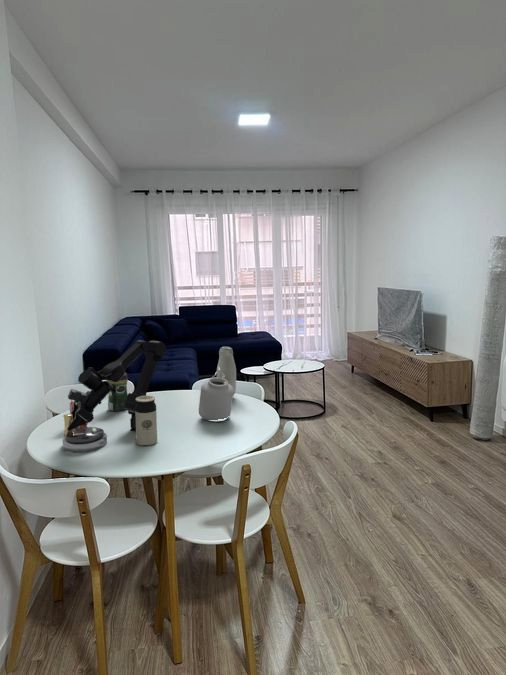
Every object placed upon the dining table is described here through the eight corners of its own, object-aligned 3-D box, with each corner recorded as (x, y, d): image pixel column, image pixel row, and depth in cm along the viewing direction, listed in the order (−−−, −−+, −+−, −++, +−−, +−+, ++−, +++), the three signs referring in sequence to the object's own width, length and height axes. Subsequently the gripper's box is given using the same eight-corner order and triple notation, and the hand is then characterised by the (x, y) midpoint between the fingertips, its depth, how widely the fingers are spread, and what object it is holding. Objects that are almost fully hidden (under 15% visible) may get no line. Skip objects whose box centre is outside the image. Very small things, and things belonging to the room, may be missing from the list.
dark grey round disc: (113, 437, 177) (113, 430, 177) (96, 453, 161) (95, 445, 161) (75, 436, 179) (75, 429, 178) (54, 451, 163) (54, 444, 162)
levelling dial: (109, 431, 176) (108, 408, 175) (94, 444, 162) (93, 419, 161) (76, 430, 177) (75, 407, 176) (58, 443, 163) (56, 418, 162)
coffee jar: (124, 405, 221) (123, 369, 219) (131, 409, 215) (130, 372, 213) (105, 409, 215) (104, 372, 213) (112, 412, 209) (110, 375, 207)
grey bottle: (237, 396, 240) (237, 345, 236) (232, 401, 230) (232, 348, 226) (220, 394, 242) (220, 344, 238) (214, 400, 232) (214, 347, 228)
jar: (242, 422, 197) (242, 367, 194) (214, 428, 188) (214, 371, 185) (219, 411, 212) (219, 361, 209) (192, 417, 203) (192, 364, 200)
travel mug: (138, 438, 176) (137, 395, 174) (158, 438, 177) (157, 395, 174) (134, 446, 168) (132, 401, 166) (155, 446, 169) (154, 400, 166)
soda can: (82, 429, 186) (80, 402, 184) (67, 428, 188) (65, 401, 186) (91, 424, 193) (90, 398, 191) (77, 423, 194) (75, 397, 193)
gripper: (79, 376, 175) (50, 406, 171) (82, 387, 158) (50, 420, 155) (100, 393, 179) (72, 423, 176) (106, 405, 162) (75, 438, 159)
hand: (67, 425), depth 166 cm, fingers open, 9 cm apart
